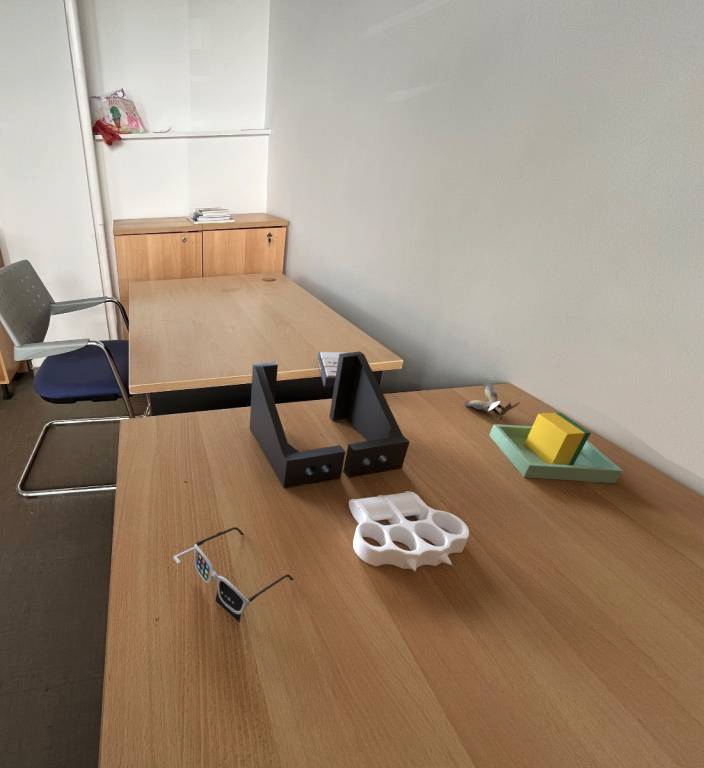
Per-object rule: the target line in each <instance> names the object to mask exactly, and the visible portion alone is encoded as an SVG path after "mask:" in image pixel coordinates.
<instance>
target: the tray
mask: <svg viewBox="0 0 704 768" xmlns="http://www.w3.org/2000/svg"><path fill="white" fill-rule="evenodd" d="M532 427H533V425H514V424H513V425H512V424H496V423H495V424H494V423H493V425H492V427H491V430H490V433H489V438H491V440H492V441H493V442H494V443H495V444H496V445H497V447H498V449H500V451H501V452H502V453H503V454H504V456H506V458H507V459H508V460H509V461H510V462H511V464H512V465H513V466H514V468H516V470H517V471H518V472H519V474H521V476H523V478H529V479H545V480H559V481H560V480H561V481H577V482H590V483H591V482H592V483H605V484H607V483H608V484H616V482H617V481H618V480H619V478H620V476H621V475H622V473H623V469H621V467H619V466H618V465H617V464H615V463H614V462H613V460H611V459H610V458H609V457H607V455H605V454H604V453H603V452H602V451H600V449H598V448H597V447H596V446H595V445H594V444H592V443H591V442H590V441H589V440H588V439H587V441H586V443H585V445H584V447H583V448H582V450H581V452H580V454H579V456H578V458H577V459H576V461H575V463H574V465H557V464H546V463H545V462H544V461H542V460H541V459H540V458H539V457H538V456H536V455H535V454H534V453H533V452H532V451H530V450H529V449H528V448H527V447H525V446H524V444H525V442H526V440H527V438H528V436H529V433H530V431H531V429H532Z"/></svg>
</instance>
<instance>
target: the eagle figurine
mask: <svg viewBox="0 0 704 768" xmlns="http://www.w3.org/2000/svg"><path fill="white" fill-rule="evenodd" d="M483 388H484V389H483V390H484V394H485V397H486V399H488V400H487V401H483V400H479V399H475V400H471V401H470V400H468V401H465V402H464V406H466V407H472V408H475V409H476V410H481V411H482V410H485V409H488V410H487V412H489V411H492V412H493V413H494V414H495V415H497V421H500V420H501V419H502V417H504V416H505V415H506V414H507V413H508V412H509V411H511V410H512V409H514V408H515V407H517V406H518V405H519V404H520V403H521V402H520V401H518V402H516V403H514V404H512V403H511V402H510V401H509V402H508V403H507V404H506V405H505V406H503V405H502V404H501V401H500V400H498V399H499V397H498V394H497V392H496V391H495V390H494V388H493V383H492V382H491V381H486V382H485V383H484V384H483ZM497 408H498V409H501V411H500V412H499V411H498V409H497Z"/></svg>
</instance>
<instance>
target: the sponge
mask: <svg viewBox="0 0 704 768" xmlns="http://www.w3.org/2000/svg"><path fill="white" fill-rule="evenodd" d="M532 426H533V427H532V429H531V431H530V433H529V436H528V438H527V440H526V442H525V444H524V446H525V447H527V448H528V449H529V450H530V451H532V452H533V453H534V454H535V455H536V456H538V457H539V458H540V459H541V460H542V461H544V462H545V463H546V464H557V465H574V463H575V461H576V459H577V458H578V456H579V454H580V452H581V450H582V448H583V447H584V445H585V443H586V441H587V440H588V439H589V437H590V435H591V432H590V431H589V430H587V429H585V428H584V427H583V426H581V425H580V424H578V423H577V422H575V421H573V420H572V419H571V418H569V417H567V416H566V415H564V414H563V413H561V412H542V413H541V412H540V413H538V414H537V416H536V418H535V420H534V422H533V425H532Z"/></svg>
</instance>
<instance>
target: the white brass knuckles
mask: <svg viewBox="0 0 704 768" xmlns="http://www.w3.org/2000/svg"><path fill="white" fill-rule="evenodd" d="M348 508H349V511H350V513H351V514H352V517H353V518H354V520H355V521H356V522H357V524H358V525H357V526H356V529H355V533H354V537H353V540H352V547H353V551H354V552H355V554H356V556H357V557H359V559H361V561H362V562H364V563H366V564H368V565H370V566H372V567H379V566H383V565H391V566H395V567H397V568H400V569H403V570H412V571H414V572H416V571H417V569H418V568H419V567H421V566H432V567H436V566H438V565H440V564H442V563H443V564H447V565H448V566H449V565H450V566H453V564H452V561H451V559H450V557H449V555H450V554H451V555H452V554H461V553H462V552H463V551H464V549H465V546H466V544H467V543H468V539H469V537H470V530H469V527H468V526H467V524H466V523H465V522H464V521H463V520H462V519H461V518H460V517H459V516H456V515H454V514H453V513H450V512H448V511H444V510H437V509H435V508H432V507H430V506H429V505H427V504H426V503H425V502H424V500H422V498H421V497H420V496H419V495H418V494H417V493H416V492H414V491H409V490H407V491H404V492H400V493H392V494H386V495H385V494H384V495H383V494H378V495H377V496H371V497H363V498H357V499H356V498H351V499H349V500H348ZM411 516H414V517H415V518H416V521H415V520H413V521H412V520H408V519H407V518H406V517H411ZM385 520H386V521H387V522H388V523H389V524H388V525H384V524H381V523H380V522H379V521H385ZM364 538H369V539H372V540H374V541H376V542H377V543H378V544H379V545H380V546H375V545H372V544H370V543H369V542H367V541H366V540H364ZM424 539H425V540H427V541H429V542H431V543H432V544H433V545H432V544H430V543H428V542H427V541H425V540H424ZM394 542H399V543H401V544H403V545H405V546H406V547H407V548H408V549H409V550H405V549H403V548H400V547H399V546H397V545H396V544H395V543H394Z"/></svg>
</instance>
